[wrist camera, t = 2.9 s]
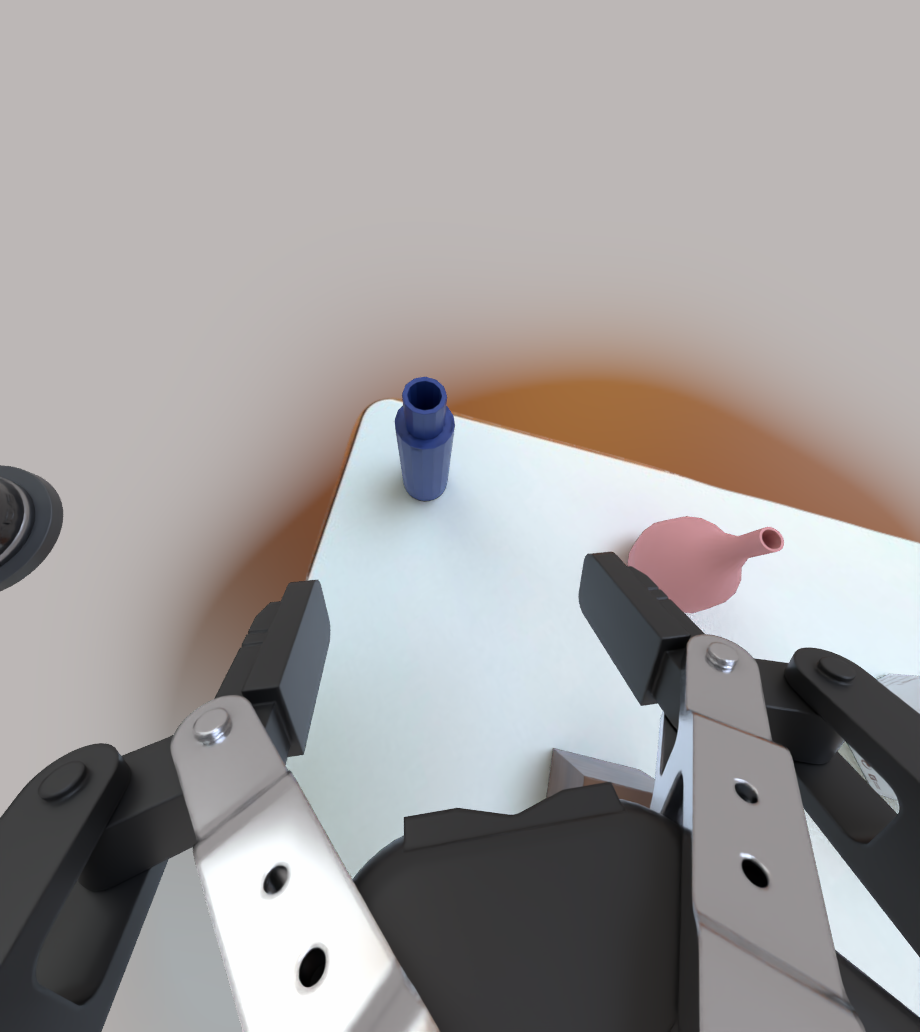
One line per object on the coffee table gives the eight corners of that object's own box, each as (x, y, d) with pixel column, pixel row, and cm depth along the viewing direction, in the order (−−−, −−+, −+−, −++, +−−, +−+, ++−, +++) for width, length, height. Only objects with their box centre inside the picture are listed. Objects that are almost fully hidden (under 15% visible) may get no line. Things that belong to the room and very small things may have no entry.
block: (538, 857, 26) (568, 918, 21) (552, 747, 29) (584, 775, 23) (632, 881, 26) (689, 948, 21) (640, 769, 29) (693, 803, 23)
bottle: (398, 494, 34) (381, 414, 21) (410, 456, 35) (402, 360, 23) (440, 506, 34) (448, 432, 21) (451, 468, 35) (465, 377, 23)
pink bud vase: (637, 515, 35) (738, 458, 24) (708, 562, 34) (847, 526, 23) (599, 580, 33) (690, 552, 22) (674, 633, 32) (810, 632, 21)
